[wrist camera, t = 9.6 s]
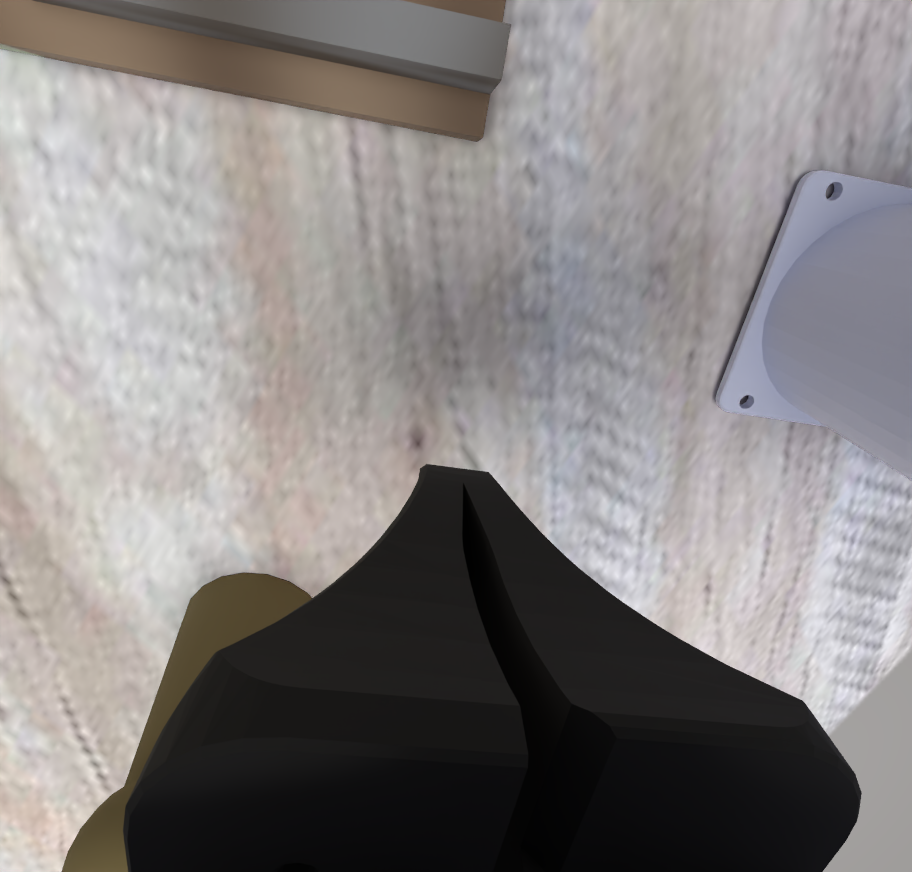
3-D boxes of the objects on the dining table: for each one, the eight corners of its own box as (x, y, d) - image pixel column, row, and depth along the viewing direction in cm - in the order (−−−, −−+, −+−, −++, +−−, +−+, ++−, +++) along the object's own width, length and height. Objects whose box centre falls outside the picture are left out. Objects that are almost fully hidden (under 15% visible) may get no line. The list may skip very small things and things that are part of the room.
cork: (288, 555, 23) (179, 853, 13) (349, 656, 25) (298, 973, 15) (156, 597, 23) (-47, 914, 13) (228, 693, 26) (103, 1019, 16)
